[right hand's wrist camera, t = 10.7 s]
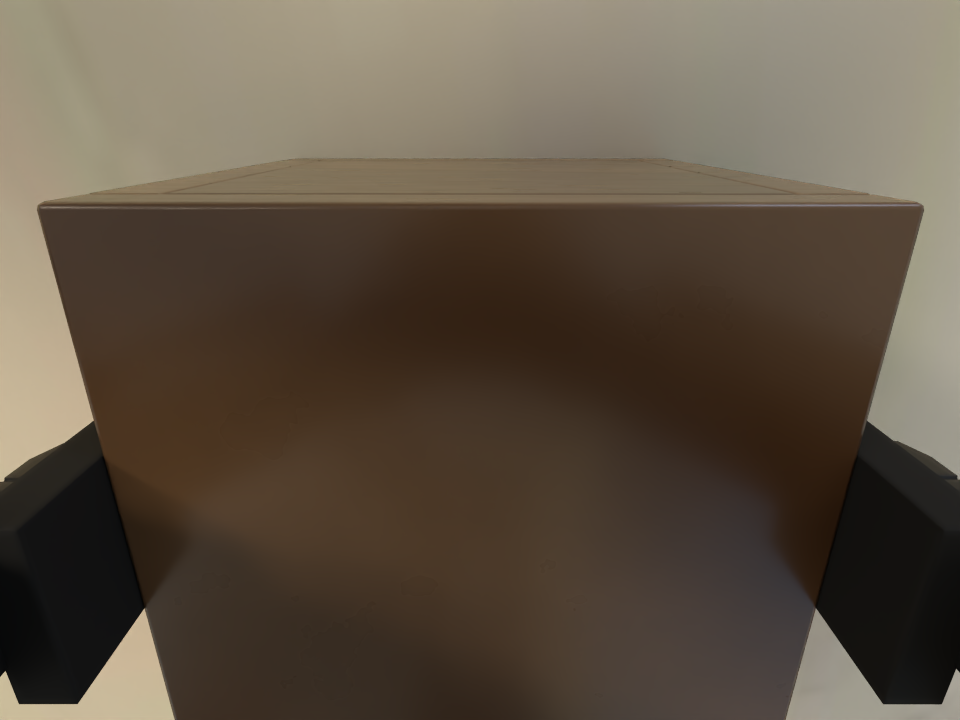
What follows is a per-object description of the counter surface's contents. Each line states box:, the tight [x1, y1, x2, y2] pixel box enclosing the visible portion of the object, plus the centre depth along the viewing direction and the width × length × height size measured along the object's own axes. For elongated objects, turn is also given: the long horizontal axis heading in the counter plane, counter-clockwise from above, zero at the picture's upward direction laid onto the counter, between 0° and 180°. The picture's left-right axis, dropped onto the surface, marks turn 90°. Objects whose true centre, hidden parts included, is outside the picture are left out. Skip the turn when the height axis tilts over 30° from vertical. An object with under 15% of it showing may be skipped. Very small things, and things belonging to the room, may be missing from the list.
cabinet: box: [37, 159, 924, 720], centre depth 15 cm, size 20×10×10 cm, turn 0°
